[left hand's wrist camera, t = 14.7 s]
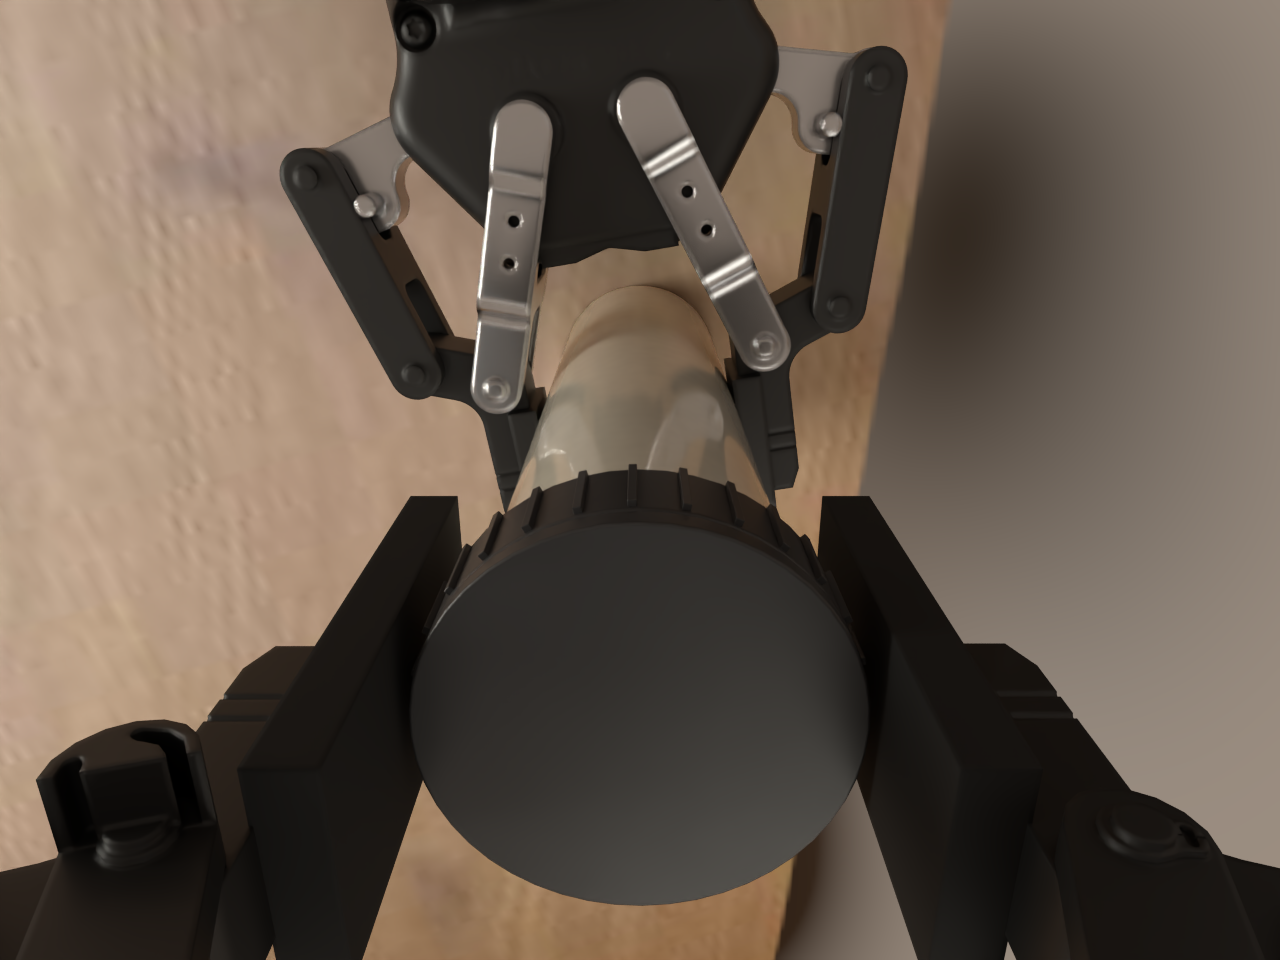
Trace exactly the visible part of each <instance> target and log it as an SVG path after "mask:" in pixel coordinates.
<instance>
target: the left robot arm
mask: <svg viewBox="0 0 1280 960" xmlns="http://www.w3.org/2000/svg"><path fill="white" fill-rule="evenodd" d="M461 551H462V544H461V532H460V520H459V508H458V496H410V498H409V500H408V501H407V503H406V504H405V506H404V507H403V509H402V511H401V512H400V514H399V515H398V517H397V518H396V520H395V521H394V523H393V525H392V526H391V528H390V529H389V531H388V532H387V534H386V536H385V537H384V539H383V540H382V542H381V543H380V545H379V547H378V548H377V550H376V551H375V553H374V554H373V556H372V558H371V559H370V561H369V562H368V564H367V565H366V567H365V568H364V570H363V572H362V573H361V575H360V576H359V578H358V579H357V581H356V583H355V584H354V586H353V587H352V589H351V590H350V592H349V594H348V595H347V597H346V598H345V600H344V601H343V603H342V604H341V606H340V608H339V609H338V611H337V612H336V614H335V615H334V617H333V619H332V620H331V622H330V623H329V625H328V626H327V628H326V630H325V631H324V633H323V634H322V636H321V637H320V639H319V640H318V642H317V644H316V645H315V646H275V647H274V648H272V649H271V650H269V651H268V652H267V653H265V654H264V655H262V656H261V657H259V658H258V659H256V660H255V661H253V662H252V663H251V664H249V665H248V666H246V667H245V668H243V670H242V671H241V672H240V674H239V675H238V676H237V678H236V679H235V680H234V682H233V683H232V684H231V686H230V687H229V688H228V690H227V691H226V692H225V694H224V699H223V700H219V702H218V703H217V704H216V706H215V707H214V708H213V710H212V711H211V712H210V714H209V715H208V721H207V722H203V723H202V724H201V726H200V727H199V728H198V730H197V731H196V732H195V731H194V730H193V729H191V728H190V727H189V726H188V725H186V724H183V723H178V722H174V721H169V720H148V721H135V722H131V723H127V724H124V725H120V726H116V727H112V728H108V729H105V730H103V731H100V732H98V733H96V734H94V735H92V736H90V737H87V738H85V739H83V740H81V741H79V742H76V743H75V744H73V745H72V746H71V747H69V748H68V749H66V750H65V751H64V752H62V753H61V754H59V755H58V756H57V757H55V758H54V759H52V760H51V761H50V762H49V764H48V765H47V766H46V768H45V769H44V770H43V771H42V773H41V774H40V775H39V776H38V778H37V779H36V782H37V785H38V788H39V792H40V795H41V798H42V801H43V804H44V808H45V811H46V814H47V817H48V821H49V824H50V827H51V830H52V833H53V837H54V840H55V843H56V846H57V849H58V856H57V858H55V859H52V860H48V861H45V862H41V863H38V864H34V865H29V866H25V867H20V868H16V869H12V870H7V871H3V872H0V960H266V958H267V956H268V953H269V951H270V949H271V947H272V945H273V947H274V952H275V957H276V960H362V959H363V956H364V953H365V950H366V947H367V944H368V941H369V938H370V935H371V932H372V929H373V926H374V923H375V920H376V917H377V914H378V911H379V908H380V905H381V902H382V900H383V897H384V894H385V891H386V888H387V885H388V882H389V879H390V876H391V873H392V870H393V867H394V864H395V861H396V858H397V855H398V852H399V849H400V846H401V843H402V840H403V837H404V834H405V831H406V828H407V826H408V823H409V820H410V817H411V814H412V811H413V808H414V805H415V802H416V799H417V796H418V793H419V790H420V787H421V784H422V781H423V778H422V775H421V773H420V770H419V767H418V765H417V762H416V759H415V755H414V750H413V746H412V741H411V736H410V725H409V700H410V691H411V682H412V679H413V676H411V673H412V668H413V666H414V663H415V661H416V659H417V656H418V654H419V652H420V649H421V647H422V645H423V642H424V640H425V638H426V634H423V633H422V630H423V627H424V625H425V623H426V621H427V618H428V616H429V614H430V612H431V609H432V607H433V605H434V602H435V600H436V598H437V596H438V593H439V591H440V589H441V587H442V584H443V582H444V581H447V582H448V581H449V579H450V576H451V574H452V572H453V569H454V567H455V565H456V562H457V560H458V558H459V555H460V553H461ZM817 558H818V560H819V563H820V565H821V567H822V569H823V571H824V573H825V572H827V571H829V570H830V571H831V573H832V575H833V577H834V579H835V581H836V584H837V586H838V588H839V590H840V593H841V595H842V597H843V600H844V602H845V604H846V606H847V609H848V611H849V613H850V615H851V618H852V620H853V622H851V626H852V628H853V630H854V633H855V635H856V637H857V640H858V642H859V644H860V647H861V649H862V651H863V653H864V656H865V659H866V665H863V667H864V670H865V673H866V677H867V682H868V689H869V697H870V731H869V736H868V742H867V748H866V753H865V756H864V759H863V762H862V765H861V768H860V771H859V774H858V777H857V781H858V784H859V787H860V790H861V793H862V796H863V799H864V802H865V805H866V808H867V811H868V814H869V817H870V820H871V823H872V826H873V828H874V831H875V834H876V837H877V840H878V843H879V846H880V849H881V852H882V855H883V858H884V861H885V864H886V867H887V870H888V873H889V876H890V879H891V882H892V885H893V888H894V890H895V894H896V896H897V899H898V902H899V905H900V908H901V911H902V914H903V917H904V920H905V923H906V926H907V929H908V932H909V935H910V938H911V941H912V944H913V947H914V950H915V953H916V956H917V959H918V960H1004V957H1005V952H1006V947H1007V942H1009V945H1010V947H1011V949H1012V951H1013V953H1014V955H1015V958H1016V960H1280V868H1276V867H1272V866H1267V865H1263V864H1258V863H1254V862H1249V861H1245V860H1241V859H1238V858H1234V857H1231V856H1228V855H1224V854H1222V852H1221V851H1220V849H1219V848H1218V846H1217V845H1216V843H1215V842H1214V840H1213V839H1212V837H1211V836H1210V834H1209V833H1208V831H1207V830H1205V829H1204V828H1203V827H1202V826H1200V825H1199V824H1198V823H1197V822H1196V821H1194V820H1193V819H1192V818H1191V817H1189V816H1188V815H1187V814H1186V813H1185V812H1183V811H1181V810H1179V809H1177V808H1175V807H1173V806H1171V805H1169V804H1167V803H1165V802H1163V801H1161V800H1159V799H1157V798H1155V797H1152V796H1148V795H1145V794H1141V793H1138V792H1134V791H1131V790H1130V788H1129V787H1128V786H1127V784H1126V783H1125V782H1124V780H1123V779H1122V778H1121V776H1120V775H1119V774H1118V772H1117V771H1116V770H1115V769H1114V767H1113V766H1112V764H1111V763H1110V762H1109V760H1108V759H1107V758H1106V756H1105V755H1104V754H1103V752H1102V751H1101V750H1100V749H1099V747H1098V746H1097V744H1096V743H1095V742H1094V740H1093V739H1092V738H1091V736H1090V735H1089V734H1088V733H1087V731H1086V730H1085V729H1084V727H1083V726H1082V725H1081V723H1080V722H1079V721H1078V719H1074V718H1073V713H1072V711H1071V710H1070V709H1069V707H1068V706H1067V705H1066V703H1065V702H1064V701H1063V699H1062V698H1061V697H1057V691H1056V690H1055V689H1054V687H1053V686H1052V685H1051V683H1050V682H1049V681H1048V679H1047V678H1046V677H1045V675H1044V674H1043V673H1042V671H1041V670H1040V669H1039V667H1038V666H1037V665H1036V664H1034V663H1033V662H1031V661H1030V660H1028V659H1027V658H1025V657H1024V656H1022V655H1021V654H1019V653H1018V652H1016V651H1015V650H1013V649H1012V648H1011V647H1009V646H1008V645H1006V644H963V642H962V641H961V639H960V637H959V636H958V634H957V633H956V631H955V630H954V628H953V626H952V625H951V623H950V622H949V620H948V619H947V617H946V615H945V614H944V612H943V611H942V609H941V608H940V606H939V604H938V603H937V601H936V600H935V598H934V597H933V595H932V594H931V592H930V590H929V589H928V587H927V586H926V584H925V583H924V581H923V579H922V578H921V576H920V575H919V573H918V572H917V570H916V568H915V567H914V565H913V564H912V562H911V561H910V559H909V557H908V556H907V554H906V553H905V551H904V550H903V548H902V547H901V545H900V543H899V542H898V540H897V539H896V537H895V536H894V534H893V532H892V531H891V529H890V528H889V526H888V525H887V523H886V521H885V520H884V518H883V517H882V515H881V514H880V512H879V511H878V509H877V507H876V506H875V504H874V503H873V501H872V500H871V498H870V497H869V496H822V508H821V520H820V532H819V544H818V556H817Z"/></svg>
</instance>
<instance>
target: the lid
mask: <svg viewBox="0 0 1280 960" xmlns="http://www.w3.org/2000/svg"><path fill="white" fill-rule="evenodd" d="M851 622H853V620H852V618H851V615H850V613H849V611H848V609H847V606H846V604H845V602H844V600H843V597H842V595H841V593H840V590H839V588H838V586H837V584H836V581H835V579H834V577H833V575H832V573H831V571H830V570H829V571H827V572H825V573H824V571H823V569H822V567H821V565H820V563H819V560H818V558H817V556H816V553H815V551H814V548H813V546H812V544H811V541H810V539H809V538H808V537H807V536H806V534H804V535H803V536H802V537H799V536H798V535H797V534H796V533H795V532H794V531H793V529H792V528H791V527H790V526H789V525H787V524H786V523H785V522H784V521H783V520H781V519H780V516H779V514H778V511H777V508H776V507H775V506H773V505H772V504H769V505H768V507H767V508H766V507H764V506H763V505H761V504H760V503H758V502H756V501H755V500H753V499H752V498H750V497H748V496H747V495H745V494H742V493H740V492H738V491H737V490H736V486H735V484H734V483H732V482H730V481H727V483H726V484H725V485H723V484H720V483H717V482H713V481H710V480H707V479H704V478H700V477H697V476H694V475H688V470H687V468H681V467H679V470H678V473H677V472H671V471H664V470H644V469H637V464H629V465H628V470H619V471H607V472H602V473H597V474H592V475H588V473H587V470H584V471H579V473H578V478H575V479H572V480H569V481H566V482H563V483H560V484H557V485H554V486H552V487H550V488H548V489H546V490H544V491H542V489H541V488H540V486H538V487H536V488H534V489H533V490H532V493H531V496H530V497H529V498H527V499H526V500H524V501H523V502H521V503H520V504H518V505H517V506H515V507H514V508H512V509H511V510H509V511H507V512H506V513H505V514H504V515H502V514H501V513H500V512H499V511H498V512H497V513H496V514H494V515H493V517H492V520H491V522H490V525H489V528H488V529H486V531H485V532H484V533H483V534H482V535H481V536H480V537H479V539H478V540H477V541H476V542H475V543H474V544H473V545H472V547H471V546H470V545H468V544H465V546H464V547H463V548H462V551H461V553H460V555H459V558H458V560H457V562H456V565H455V567H454V569H453V572H452V574H451V576H450V579H449V581H448V582H447V581H444V582H443V584H442V587H441V589H440V591H439V593H438V596H437V598H436V600H435V602H434V605H433V607H432V609H431V612H430V614H429V616H428V618H427V621H426V623H425V625H424V627H423V630H422V633H423V634H426V638H425V640H424V642H423V645H422V647H421V649H420V652H419V654H418V656H417V659H416V661H415V663H414V666H413V668H412V673H411V676H413V679H412V682H411V691H410V700H409V725H410V736H411V741H412V746H413V750H414V755H415V759H416V762H417V765H418V767H419V770H420V773H421V775H422V778H423V781H424V783H425V785H426V787H427V789H428V790H429V792H430V794H431V796H432V798H433V799H434V801H435V803H436V805H437V806H438V808H439V809H440V810H441V812H442V813H443V814H444V816H445V817H446V818H447V820H448V821H449V822H450V824H451V825H452V826H453V827H454V828H455V829H456V830H457V831H458V832H459V833H460V834H461V835H462V836H463V837H464V838H465V839H466V840H467V841H468V842H469V843H470V844H471V845H472V846H473V847H475V848H476V849H477V850H478V851H480V852H481V853H482V854H483V855H484V856H486V857H487V858H488V859H489V860H491V861H493V862H494V863H496V864H497V865H499V866H501V867H502V868H504V869H505V870H507V871H509V872H510V873H512V874H514V875H516V876H518V877H520V878H522V879H524V880H526V881H528V882H530V883H532V884H534V885H537V886H540V887H542V888H545V889H548V890H551V891H554V892H556V893H559V894H562V895H566V896H570V897H574V898H579V899H583V900H587V901H593V902H600V903H607V904H614V905H638V906H645V905H662V904H673V903H679V902H686V901H692V900H698V899H701V898H705V897H709V896H713V895H716V894H720V893H724V892H726V891H729V890H732V889H734V888H737V887H739V886H742V885H745V884H747V883H749V882H751V881H753V880H755V879H757V878H759V877H761V876H763V875H765V874H767V873H769V872H771V871H773V870H774V869H776V868H777V867H779V866H780V865H782V864H783V863H785V862H786V861H788V860H789V859H791V858H793V857H794V856H795V855H796V854H798V853H799V852H800V851H801V850H802V849H803V848H805V847H806V846H807V845H808V844H809V843H811V842H812V841H813V840H814V839H815V838H816V837H817V836H818V835H819V834H820V832H821V831H822V830H823V829H824V828H825V827H826V826H827V825H828V824H829V823H830V822H831V820H832V819H833V818H834V816H835V815H836V813H837V812H838V810H839V809H840V808H841V806H842V805H843V803H844V802H845V800H846V799H847V797H848V795H849V793H850V791H851V789H852V787H853V785H854V783H855V781H856V779H857V777H858V774H859V771H860V768H861V765H862V762H863V759H864V756H865V753H866V748H867V742H868V736H869V731H870V697H869V689H868V682H867V677H866V673H865V670H864V667H863V665H866V659H865V656H864V653H863V651H862V649H861V647H860V644H859V642H858V640H857V637H856V635H855V633H854V630H853V628H852V626H851Z"/></svg>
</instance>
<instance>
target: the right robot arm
mask: <svg viewBox="0 0 1280 960" xmlns="http://www.w3.org/2000/svg"><path fill="white" fill-rule="evenodd" d="M386 3H387V7H388V11H389V15H390V19H391V23H392V27H393V31H394V35H395V40H396V47H397V71H396V78H395V83H394V87H393V91H392V94H391V99H390V117H388V118H386V119H384V120H382V121H380V122H378V123H376V124H374V125H372V126H370V127H368V128H366V129H364V130H362V131H360V132H358V133H356V134H354V135H352V136H350V137H348V138H346V139H344V140H342V141H340V142H338V143H336V144H334V145H332V146H330V147H324V148H300V149H296V150H294V151H292V152H290V153H289V154H287V156H286V157H285V158H284V160H283V161H282V164H281V167H280V181H281V184H282V187H283V189H284V191H285V193H286V194H287V196H288V198H289V200H290V201H291V203H292V205H293V207H294V209H295V210H296V212H297V214H298V216H299V218H300V219H301V221H302V223H303V225H304V227H305V228H306V230H307V232H308V234H309V236H310V237H311V239H312V241H313V243H314V245H315V246H316V248H317V250H318V252H319V253H320V255H321V257H322V259H323V261H324V262H325V264H326V266H327V268H328V270H329V271H330V273H331V275H332V277H333V279H334V280H335V282H336V284H337V286H338V288H339V289H340V291H341V293H342V295H343V296H344V298H345V300H346V302H347V304H348V305H349V307H350V309H351V311H352V313H353V314H354V316H355V318H356V320H357V322H358V323H359V325H360V327H361V329H362V331H363V332H364V334H365V336H366V338H367V339H368V341H369V343H370V345H371V347H372V348H373V350H374V352H375V354H376V356H377V357H378V359H379V361H380V363H381V365H382V366H383V368H384V370H385V372H386V374H387V375H388V377H389V379H390V381H391V383H392V384H393V386H394V387H395V389H396V390H397V391H398V392H399V393H400V394H402V395H403V396H405V397H407V398H410V399H417V400H420V399H425V398H428V397H430V396H436V397H441V398H447V399H452V400H457V401H461V402H463V403H466V404H467V405H469V406H471V407H472V408H473V409H474V410H475V411H476V412H477V413H478V414H479V416H480V417H481V419H482V421H483V424H484V428H485V432H486V436H487V440H488V444H489V449H490V453H491V457H492V461H493V465H494V469H495V474H496V476H497V482H498V486H499V489H500V494H501V499H502V503H503V507H504V511H505V513H506V512H507V510H508V507H509V504H510V502H511V499H512V496H513V493H514V490H515V488H516V485H517V482H518V479H519V476H520V473H521V471H522V468H523V465H524V462H525V459H526V457H527V454H528V451H529V448H530V445H531V442H532V440H533V437H534V434H535V431H536V428H537V426H538V423H539V420H540V417H541V414H542V411H543V409H544V406H545V403H546V400H547V396H546V391H545V387H540V388H535V384H534V380H533V375H532V371H533V366H534V358H535V351H536V344H537V336H538V329H539V322H540V314H541V308H542V302H543V298H544V294H545V288H546V282H547V274H548V268H549V267H555V266H561V265H566V264H572V263H577V262H579V261H581V260H583V259H585V258H588V257H590V256H592V255H594V254H596V253H598V252H600V251H602V250H605V249H607V248H618V249H628V250H638V251H649V250H655V249H661V248H667V247H673V246H679V244H678V241H681V243H682V245H683V247H684V249H685V251H686V253H687V255H688V257H689V259H690V260H691V262H692V264H693V266H694V268H695V270H696V272H697V274H698V276H699V278H700V280H701V282H702V284H703V286H704V287H705V289H706V291H707V293H708V295H709V297H710V299H711V301H712V302H713V304H714V306H715V308H716V310H717V312H718V314H719V316H720V318H721V320H722V322H723V324H724V326H725V328H726V330H727V331H728V333H729V339H730V347H731V355H732V357H731V358H725V359H724V363H725V371H726V378H727V384H728V387H729V390H730V393H731V395H732V398H733V401H734V404H735V407H736V410H737V412H738V415H739V418H740V421H741V424H742V427H743V429H744V432H745V435H746V438H747V441H748V443H749V446H750V449H751V452H752V455H753V458H754V460H755V463H756V466H757V469H758V472H759V475H760V477H761V480H762V483H763V486H764V489H765V492H766V494H767V497H768V500H769V503H770V504H772V505H773V506H775V507H776V499H775V490H779V489H786V488H792V487H793V485H794V482H795V478H796V475H797V472H798V469H799V466H798V456H797V448H796V438H795V431H794V429H795V428H794V419H793V409H792V400H791V391H790V381H789V370H790V366H791V363H792V361H793V359H794V357H795V356H796V354H797V353H798V352H799V351H800V350H801V349H802V348H803V347H805V346H806V345H808V344H810V343H812V342H814V341H815V340H817V339H819V338H821V337H823V336H825V335H827V334H828V333H830V332H831V333H844V332H847V331H849V330H851V329H853V328H854V327H856V326H857V325H858V324H859V323H860V321H861V320H862V318H863V316H864V314H865V310H866V305H867V300H868V294H869V289H870V283H871V278H872V272H873V267H874V261H875V256H876V250H877V245H878V239H879V234H880V228H881V222H882V217H883V211H884V206H885V200H886V195H887V189H888V184H889V178H890V173H891V167H892V162H893V156H894V151H895V145H896V140H897V134H898V129H899V123H900V118H901V112H902V107H903V101H904V95H905V90H906V84H907V78H908V71H907V66H906V63H905V60H904V59H903V57H902V56H901V55H900V53H899V52H897V51H896V50H894V49H893V48H890V47H887V46H876V47H872V48H866V49H863V50H860V51H858V52H855V53H843V52H833V51H823V50H813V49H803V48H792V47H782V46H777V42H776V39H775V37H774V34H773V32H772V30H771V29H770V27H769V25H768V24H767V23H766V21H765V20H764V18H763V17H762V15H761V14H760V12H759V11H758V9H757V7H756V5H755V2H754V0H386ZM771 95H773V96H776V97H778V98H779V99H781V100H782V101H783V102H784V103H785V104H786V105H787V107H788V109H789V111H790V114H791V119H792V135H793V138H794V140H795V142H796V143H797V145H798V146H799V147H800V148H801V149H803V150H805V151H807V152H809V153H815V154H816V158H815V165H814V171H813V178H812V185H811V191H810V198H809V205H808V211H807V218H806V224H805V231H804V238H803V244H802V251H801V258H800V264H799V271H798V278H797V279H796V280H794V281H793V282H791V283H789V284H787V285H785V286H784V287H782V288H780V289H778V290H776V291H775V292H773V293H771V294H769V293H768V291H767V289H766V287H765V285H764V283H763V281H762V279H761V277H760V275H759V273H758V271H757V269H756V266H755V263H754V261H753V259H752V257H751V254H750V252H749V250H748V248H747V246H746V244H745V242H744V240H743V238H742V236H741V234H740V232H739V230H738V228H737V226H736V224H735V222H734V220H733V218H732V216H731V214H730V211H729V209H728V207H727V205H726V203H725V201H724V199H723V197H722V195H721V192H722V190H723V188H724V186H725V184H726V182H727V180H728V178H729V176H730V174H731V172H732V170H733V168H734V166H735V164H736V162H737V160H738V158H739V157H740V155H741V153H742V151H743V149H744V147H745V145H746V143H747V141H748V139H749V137H750V135H751V133H752V131H753V129H754V127H755V125H756V123H757V121H758V119H759V117H760V115H761V113H762V111H763V109H764V107H765V105H766V103H767V101H768V100H769V98H770V96H771ZM413 160H414V161H415V162H416V163H417V164H418V165H419V166H420V167H421V168H422V169H423V170H424V171H425V172H426V173H427V174H428V175H429V176H430V177H431V178H432V179H433V180H434V181H435V182H436V183H437V184H439V185H440V186H441V187H442V188H443V189H444V190H445V191H446V192H447V193H448V194H449V195H450V196H451V197H452V198H453V199H454V200H455V201H456V202H457V203H458V204H459V205H460V206H461V207H462V208H463V209H464V210H466V211H467V212H468V213H469V214H470V215H471V216H472V217H473V218H474V219H475V220H476V221H477V222H478V223H479V224H480V225H481V226H482V227H483V228H484V238H483V247H482V256H481V265H480V274H479V284H478V293H477V312H478V324H477V333H476V340H472V339H467V338H461V337H456V336H454V334H453V332H452V330H451V328H450V326H449V324H448V322H447V320H446V318H445V316H444V315H443V313H442V311H441V309H440V307H439V305H438V303H437V301H436V299H435V297H434V295H433V293H432V292H431V290H430V288H429V286H428V284H427V282H426V280H425V278H424V276H423V274H422V272H421V270H420V268H419V267H418V265H417V263H416V261H415V259H414V257H413V255H412V253H411V251H410V249H409V247H408V245H407V244H406V242H405V240H404V238H403V236H402V234H401V232H400V230H399V228H398V226H397V225H399V224H400V223H402V222H403V221H404V219H405V218H406V217H407V215H408V212H409V207H410V201H409V196H408V193H407V190H406V187H405V173H406V170H407V168H408V166H409V164H410V163H411V162H412V161H413Z"/></svg>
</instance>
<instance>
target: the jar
mask: <svg viewBox="0 0 1280 960" xmlns="http://www.w3.org/2000/svg"><path fill="white" fill-rule="evenodd" d="M629 464H637V469H644V470H664V471H671V472H677V473H678V470H679V467H681V468H687V470H688V475H694V476H697V477H700V478H704V479H707V480H710V481H713V482H717V483H720V484H723V485H725V484H726V483H727V481H730V482H732V483H734V484H735V486H736V490H737V491H738V492H740V493H742V494H745V495H747V496H748V497H750V498H752V499H753V500H755V501H756V502H758V503H760V504H761V505H763V506H764V507H766V508H767V507H768V505H769V504H770V503H769V500H768V497H767V494H766V492H765V489H764V486H763V483H762V480H761V477H760V475H759V472H758V469H757V466H756V463H755V460H754V458H753V455H752V452H751V449H750V446H749V443H748V441H747V438H746V435H745V432H744V429H743V427H742V424H741V421H740V418H739V415H738V412H737V410H736V407H735V404H734V401H733V398H732V395H731V393H730V390H729V387H728V384H727V381H726V378H725V376H724V373H723V370H722V367H721V364H720V361H719V359H718V356H717V353H716V350H715V347H714V345H713V342H712V339H711V336H710V333H709V331H708V329H707V327H706V324H705V323H704V321H703V320H702V318H701V316H700V315H699V314H698V313H697V312H696V310H695V309H694V308H693V307H692V306H691V305H690V304H689V303H687V302H686V301H685V300H683V299H682V298H680V297H679V296H677V295H675V294H673V293H671V292H669V291H666V290H664V289H661V288H656V287H652V286H628V287H623V288H619V289H616V290H613V291H611V292H608V293H606V294H604V295H602V296H601V297H599V298H598V299H596V300H595V301H594V302H592V303H591V304H590V305H589V306H588V307H587V308H586V309H585V310H584V311H583V312H582V313H581V315H580V316H579V318H578V319H577V321H576V322H575V324H574V326H573V328H572V330H571V333H570V335H569V338H568V341H567V344H566V347H565V349H564V352H563V355H562V358H561V361H560V364H559V366H558V369H557V372H556V375H555V378H554V380H553V383H552V386H551V389H550V392H549V395H548V397H547V400H546V403H545V406H544V409H543V411H542V414H541V417H540V420H539V423H538V426H537V428H536V431H535V434H534V437H533V440H532V442H531V445H530V448H529V451H528V454H527V457H526V459H525V462H524V465H523V468H522V471H521V473H520V476H519V479H518V482H517V485H516V488H515V490H514V493H513V496H512V499H511V502H510V504H509V507H508V510H507V511H509V510H511V509H512V508H514V507H515V506H517V505H518V504H520V503H521V502H523V501H524V500H526V499H527V498H529V497H530V496H531V493H532V490H533V489H534V488H536V487H538V486H540V488H541V489H542V491H544V490H546V489H548V488H550V487H552V486H554V485H557V484H560V483H563V482H566V481H569V480H572V479H575V478H578V473H579V471H584V470H587V473H588V475H592V474H597V473H602V472H607V471H619V470H628V465H629Z"/></svg>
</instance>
